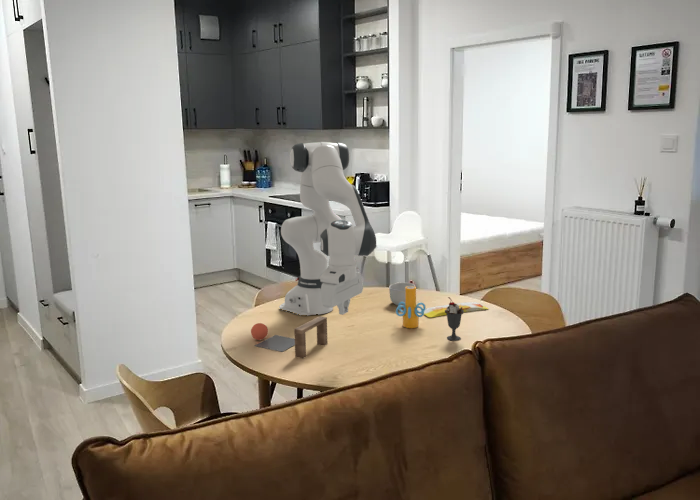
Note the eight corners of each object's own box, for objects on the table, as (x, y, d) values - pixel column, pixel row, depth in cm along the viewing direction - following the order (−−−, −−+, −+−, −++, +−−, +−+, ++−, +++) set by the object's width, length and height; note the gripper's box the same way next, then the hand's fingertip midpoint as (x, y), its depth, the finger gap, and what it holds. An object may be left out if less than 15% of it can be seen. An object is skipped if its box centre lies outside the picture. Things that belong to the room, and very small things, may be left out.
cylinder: (423, 332, 226) (423, 292, 223) (394, 330, 229) (394, 291, 225) (426, 321, 238) (426, 283, 235) (398, 320, 240) (398, 282, 237)
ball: (248, 340, 221) (246, 324, 220) (258, 335, 226) (257, 320, 225) (261, 343, 218) (260, 327, 217) (271, 338, 223) (270, 322, 222)
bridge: (295, 356, 206) (294, 329, 203) (320, 342, 218) (319, 316, 216) (302, 358, 204) (301, 330, 202) (327, 343, 217) (326, 317, 215)
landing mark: (254, 345, 216) (254, 345, 216) (275, 335, 226) (275, 334, 226) (282, 352, 210) (282, 351, 210) (302, 340, 220) (302, 340, 220)
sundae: (442, 335, 223) (442, 295, 219) (460, 334, 223) (461, 294, 220) (446, 342, 216) (447, 300, 213) (465, 341, 217) (466, 299, 213)
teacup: (416, 307, 255) (416, 288, 254) (389, 308, 256) (389, 289, 254) (413, 297, 269) (413, 280, 267) (388, 298, 269) (388, 280, 268)
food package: (429, 314, 241) (417, 307, 250) (429, 320, 242) (417, 313, 251) (489, 305, 251) (476, 299, 260) (489, 311, 251) (475, 304, 260)
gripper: (350, 264, 209) (351, 303, 212) (316, 277, 192) (318, 320, 194) (367, 265, 205) (367, 306, 208) (334, 280, 188) (335, 323, 191)
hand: (343, 313), depth 201 cm, fingers closed
